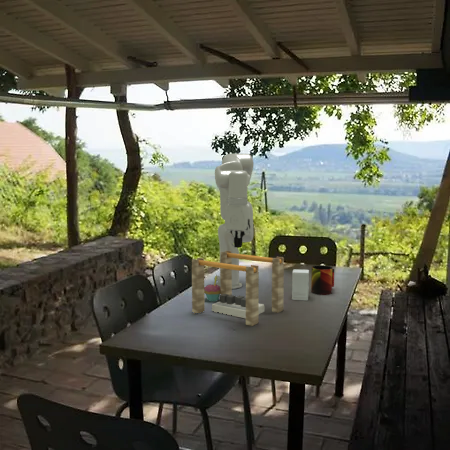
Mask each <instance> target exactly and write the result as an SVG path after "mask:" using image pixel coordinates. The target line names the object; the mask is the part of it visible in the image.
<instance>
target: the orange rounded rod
mask: <svg viewBox="0 0 450 450" xmlns="http://www.w3.org/2000/svg"><path fill="white" fill-rule="evenodd" d="M199 265H203V266H204V267H211V268H219V269H220V268H224V269H231V270H238V271H239V272H245V273H246V267H247V265H240V264H239V265H233V264H225V263H220V262H218V261H217V262H216V261H209V260H204V261H203V260H199ZM254 272H256V268H254Z"/></svg>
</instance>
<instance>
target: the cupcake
mask: <svg viewBox="0 0 450 450" xmlns="http://www.w3.org/2000/svg"><path fill="white" fill-rule="evenodd" d="M217 276H218V275H217V274H216V275H215V277H214V278H215V280H214V284H207V285H205V286H204V295H205V296H206V299H207V301H208V300H210V301H209V302H217V301H216V300H218V301H219V300H220V295H221V287H220V286H218V285H217V281H216V279H217Z"/></svg>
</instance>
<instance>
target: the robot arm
mask: <svg viewBox="0 0 450 450" xmlns="http://www.w3.org/2000/svg"><path fill="white" fill-rule="evenodd" d="M253 169H254V159H253V156H252V155H251V154H249V153H227V154H225V155H224V156H223V158H222V160H221V164H220V165H218V166H216V168H215V169H214V179H215V184H216V187H217V188H218V191H219V199H220V200H219V201H220V203H219V206H220V217H221V219H222V220H223V221H224V223H221V224H220V225H219V226H218V227H217V236H218V243H219V258H220V257H221V252H225V251H231V253H235V254H240V250H239V248H241V247H242V246H243V243H250V242H252V241H253V239H254V211H253V208H254V207H253V205H252V203H251V201H248V186H249V185H250V183H251V178H252V174H253V171H254V170H253ZM232 264H233V265H240V259H238V258H232ZM213 281H215V277H214V280H213ZM216 285H218V286H220V287H221V280H220V275H217V279H216ZM242 286H243V283H242V282H240V271H238V270H232V290H237V289H240V288H242Z"/></svg>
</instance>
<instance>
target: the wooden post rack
mask: <svg viewBox="0 0 450 450" xmlns="http://www.w3.org/2000/svg"><path fill="white" fill-rule="evenodd" d="M227 253H231V251H225V252H221V257H220V256H219V263H225V264H232V258H230V257H227ZM271 258H272V263H271V312H272V313H276V314H278V313H281V312H283V311H284V290H285V289H284V284H285V283H284V279H285V278H284V277H285V276H284V275H285V263H284V260H285V258H284V257H283V256H276V257H271ZM280 259H281V261H282V262H281V263H280ZM199 260H203V261H205V258H204V257H197V258H193V259H191V296H192V297H191V310H192V311H191V313H192V312H194V313H193V314H195V313H200V312H202V313H204V312H203V311H205V309H206V307H205V304H206V302H205V301H206V300H205V296H206V295H205V293H204V288H205V266H203V265H199ZM246 266H247V265H246ZM254 268H256V272H254ZM259 273H260V271H259V265H256V264H255V265H254V264H251V265H250V266H247V267H246V272H245V298H246V318H245V325H246V326H250V327H253V326H255V325H257V324H259V315H260V314H259V304H260V303H259V300H260V298H259V296H260V295H259V291H260V290H259V280H260V279H259V278H260V277H259ZM219 276H220V280H221V294H220V295H222V294H229V295H233V291H232V290H233V289H232V270H231V269H224V268H219ZM200 314H201V313H200Z"/></svg>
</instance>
